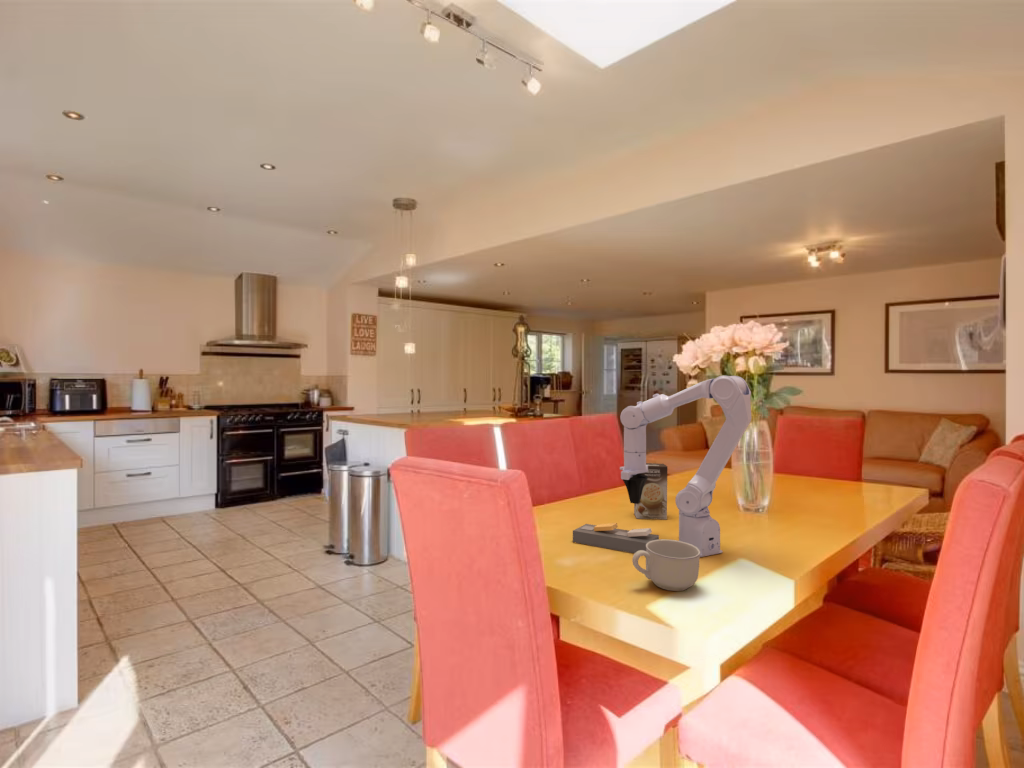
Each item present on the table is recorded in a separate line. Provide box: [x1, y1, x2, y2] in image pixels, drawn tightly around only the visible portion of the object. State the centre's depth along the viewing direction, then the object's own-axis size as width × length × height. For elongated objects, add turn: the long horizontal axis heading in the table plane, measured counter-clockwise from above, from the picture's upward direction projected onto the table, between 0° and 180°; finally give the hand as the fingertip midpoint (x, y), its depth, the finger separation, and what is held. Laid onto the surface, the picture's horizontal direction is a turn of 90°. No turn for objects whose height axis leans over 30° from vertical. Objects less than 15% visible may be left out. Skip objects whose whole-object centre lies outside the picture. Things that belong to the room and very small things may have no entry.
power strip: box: [572, 523, 660, 554], centre depth 140 cm, size 20×8×3 cm, turn 57°
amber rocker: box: [594, 522, 619, 531], centre depth 141 cm, size 5×4×1 cm
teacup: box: [631, 538, 701, 592], centre depth 112 cm, size 14×11×8 cm
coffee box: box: [633, 462, 668, 520], centre depth 168 cm, size 9×6×16 cm
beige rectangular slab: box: [627, 527, 653, 537], centre depth 136 cm, size 5×4×1 cm
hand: (635, 502), depth 145 cm, fingers closed
